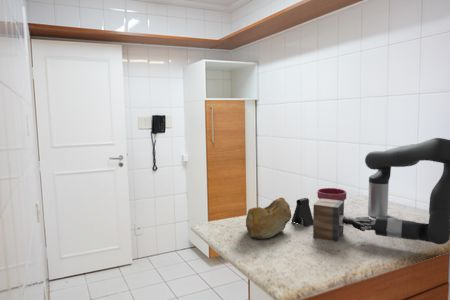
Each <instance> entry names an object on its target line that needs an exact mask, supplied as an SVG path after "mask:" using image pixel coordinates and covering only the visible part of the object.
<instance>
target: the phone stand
mask: <svg viewBox="0 0 450 300" xmlns="http://www.w3.org/2000/svg"><path fill="white" fill-rule="evenodd" d="M291 221H292V222H295V223H294V224H296V223H298V224H297V225H299V224H300V226H302V225H303V226H302V227H309V226H311V225H313V213H312V211H311V208H310V199H309V198H308V197H303V198H299V199H297V200H296V206H295V209H294V213H293V215H292V217H291ZM292 222H291V223H292Z"/></svg>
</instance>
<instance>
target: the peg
mask: <svg viewBox="0 0 450 300" xmlns="http://www.w3.org/2000/svg"><path fill="white" fill-rule="evenodd" d="M344 218H345V214H344V215H340V220H339V225H340V226H343V219H344ZM343 227H344V226H343Z"/></svg>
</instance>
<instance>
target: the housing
mask: <svg viewBox="0 0 450 300" xmlns="http://www.w3.org/2000/svg"><path fill="white" fill-rule="evenodd" d="M312 208H313V211H312V212H313V213H312V217H313V224H312V225H313V226H312V228H313V229H312V238H313V239H319V240H324V241H330V242H335V243H339V240H340V238H342V236H343V235H344V225H345V224H343V226H340V225H339V220H340V215H344V216H345V200H344V201H340V200H331V199H322V198H321V199H320V200H319V199H318V200H317V201H316V202H315V203H314V204H313V207H312Z"/></svg>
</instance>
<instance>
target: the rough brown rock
mask: <svg viewBox="0 0 450 300" xmlns="http://www.w3.org/2000/svg"><path fill="white" fill-rule="evenodd" d="M292 217H293V215H292V211H291V208H290V204H289V203H288V202H287V201H286V199H285V198H284V197H279V198H276V199H274V200H273V201H272V202H271V203H270V204H269V205H268V206H265V207H261V206H257V207H252V208H249V209H248V211H247V215H246V218H245V227H246V230H247V233H248V235H249V236H250V237H251V238H255V239H258V238H259V240H262V239H269V238H272V237H274V236H275V235H276V234H280V232H283V231H284V230H285V228H286V225H287V223H289V222H290V221H291V220H292Z"/></svg>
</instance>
